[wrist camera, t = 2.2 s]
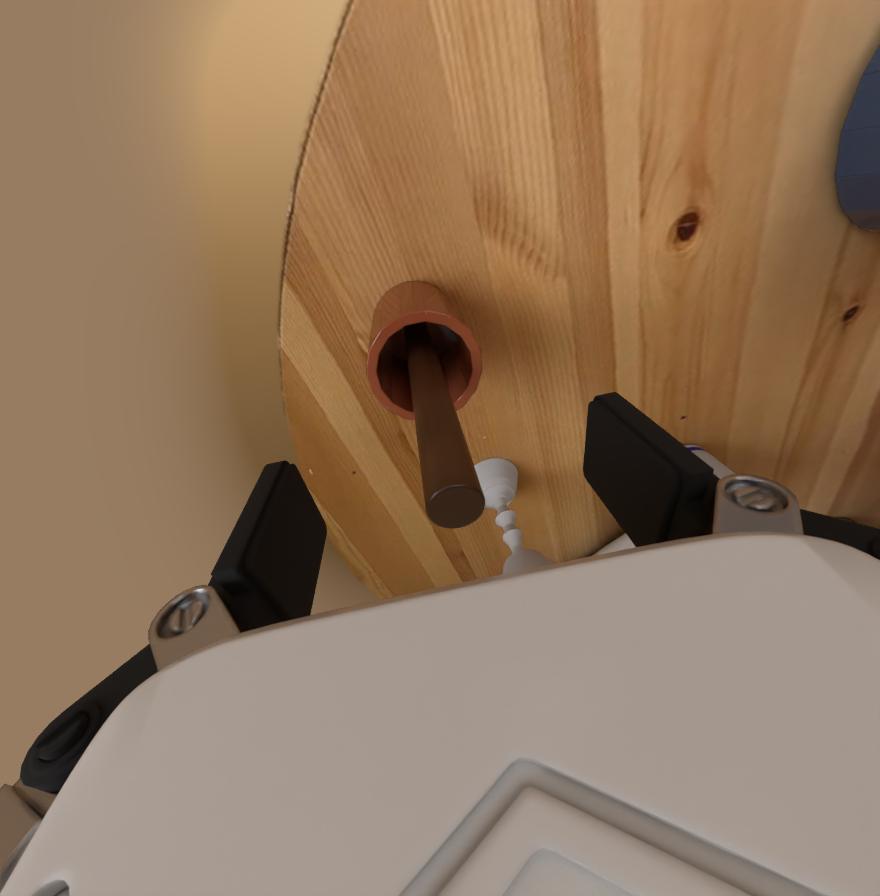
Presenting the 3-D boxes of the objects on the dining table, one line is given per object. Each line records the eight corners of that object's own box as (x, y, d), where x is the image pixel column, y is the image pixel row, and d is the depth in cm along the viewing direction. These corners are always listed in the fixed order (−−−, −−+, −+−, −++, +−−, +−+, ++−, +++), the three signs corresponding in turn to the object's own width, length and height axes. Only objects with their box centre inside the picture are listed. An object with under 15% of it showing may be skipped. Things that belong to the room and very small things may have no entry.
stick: (401, 318, 23) (420, 492, 9) (425, 313, 23) (482, 479, 9) (406, 342, 24) (432, 534, 10) (429, 337, 24) (488, 522, 10)
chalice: (480, 437, 29) (573, 668, 15) (543, 461, 32) (678, 681, 17) (440, 498, 33) (483, 736, 18) (500, 516, 35) (582, 739, 20)
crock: (362, 290, 22) (351, 325, 15) (449, 272, 22) (475, 299, 15) (385, 372, 25) (383, 430, 19) (461, 357, 25) (486, 409, 19)
